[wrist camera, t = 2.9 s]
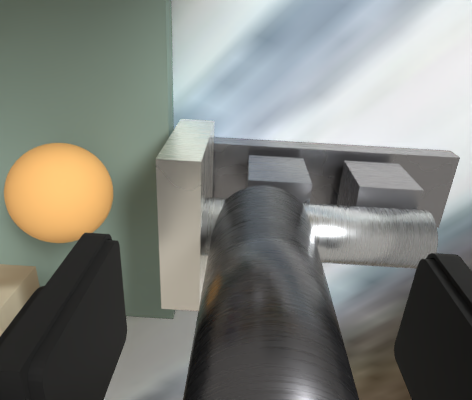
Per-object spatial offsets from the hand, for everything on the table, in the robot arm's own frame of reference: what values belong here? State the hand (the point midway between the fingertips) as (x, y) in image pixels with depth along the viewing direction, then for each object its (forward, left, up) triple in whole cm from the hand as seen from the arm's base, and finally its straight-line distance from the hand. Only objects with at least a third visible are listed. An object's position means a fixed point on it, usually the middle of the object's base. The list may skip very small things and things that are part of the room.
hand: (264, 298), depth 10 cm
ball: (+7, 0, -5) cm, 9 cm away
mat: (+9, 0, -8) cm, 12 cm away
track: (-2, 0, -8) cm, 8 cm away
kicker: (-1, 0, -6) cm, 6 cm away
